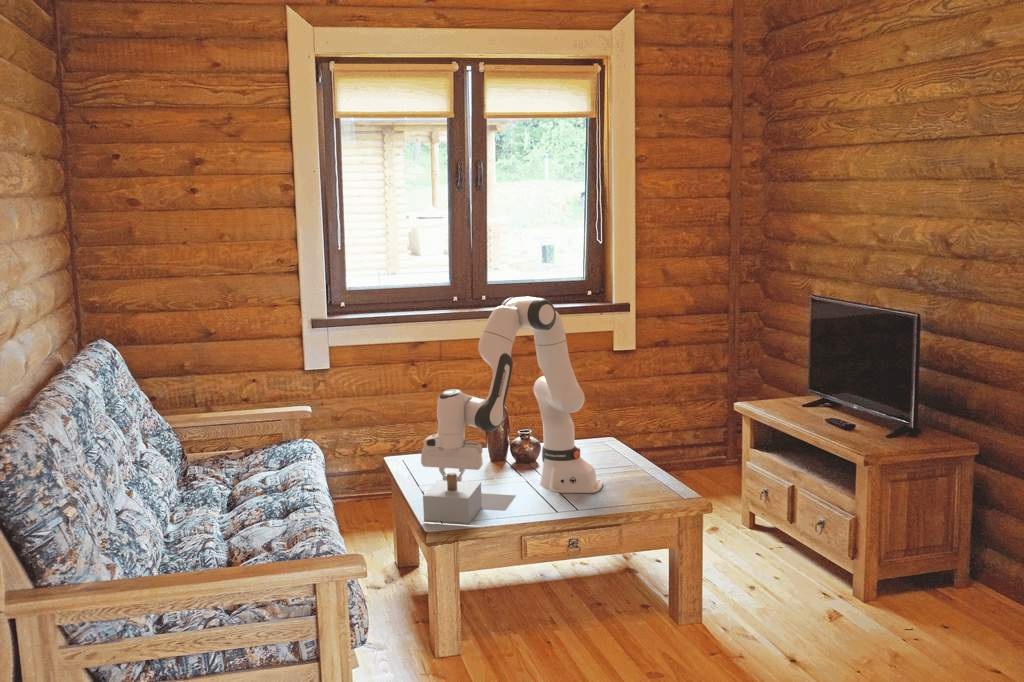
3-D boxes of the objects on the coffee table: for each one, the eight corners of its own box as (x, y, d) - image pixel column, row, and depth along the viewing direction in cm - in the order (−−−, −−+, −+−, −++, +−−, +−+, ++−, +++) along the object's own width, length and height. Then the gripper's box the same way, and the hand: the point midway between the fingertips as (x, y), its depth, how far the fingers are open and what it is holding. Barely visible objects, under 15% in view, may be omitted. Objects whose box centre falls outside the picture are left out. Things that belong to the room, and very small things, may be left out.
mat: (516, 497, 356) (516, 495, 356) (505, 512, 340) (505, 510, 340) (466, 493, 360) (466, 492, 360) (453, 508, 345) (453, 507, 344)
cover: (481, 507, 344) (480, 468, 341) (469, 524, 329) (467, 483, 326) (438, 504, 347) (436, 465, 344) (424, 521, 333) (422, 481, 330)
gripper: (484, 438, 334) (485, 479, 337) (424, 435, 339) (426, 476, 342) (479, 444, 328) (480, 485, 331) (418, 440, 333) (420, 481, 336)
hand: (452, 480), depth 336 cm, fingers closed on cover, 3 cm apart
